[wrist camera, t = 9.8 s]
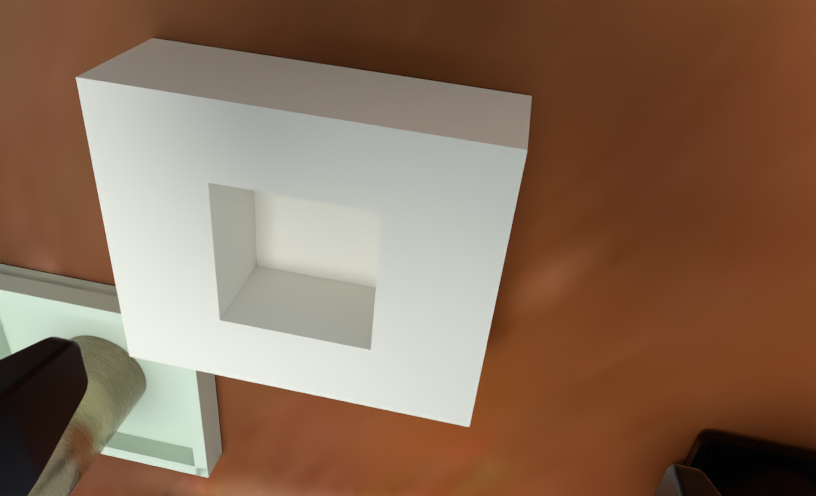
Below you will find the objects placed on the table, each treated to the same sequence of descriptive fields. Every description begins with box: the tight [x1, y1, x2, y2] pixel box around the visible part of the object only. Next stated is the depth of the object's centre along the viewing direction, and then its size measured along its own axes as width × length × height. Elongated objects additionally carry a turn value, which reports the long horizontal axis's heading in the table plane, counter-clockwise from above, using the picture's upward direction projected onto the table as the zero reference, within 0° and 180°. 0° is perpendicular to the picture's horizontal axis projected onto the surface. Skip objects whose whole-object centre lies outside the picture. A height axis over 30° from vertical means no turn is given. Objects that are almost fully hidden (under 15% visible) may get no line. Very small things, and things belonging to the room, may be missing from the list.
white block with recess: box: [76, 38, 532, 427], centre depth 21 cm, size 12×10×4 cm
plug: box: [28, 335, 146, 496], centre depth 25 cm, size 4×4×8 cm
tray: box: [0, 264, 222, 478], centre depth 29 cm, size 10×9×2 cm
